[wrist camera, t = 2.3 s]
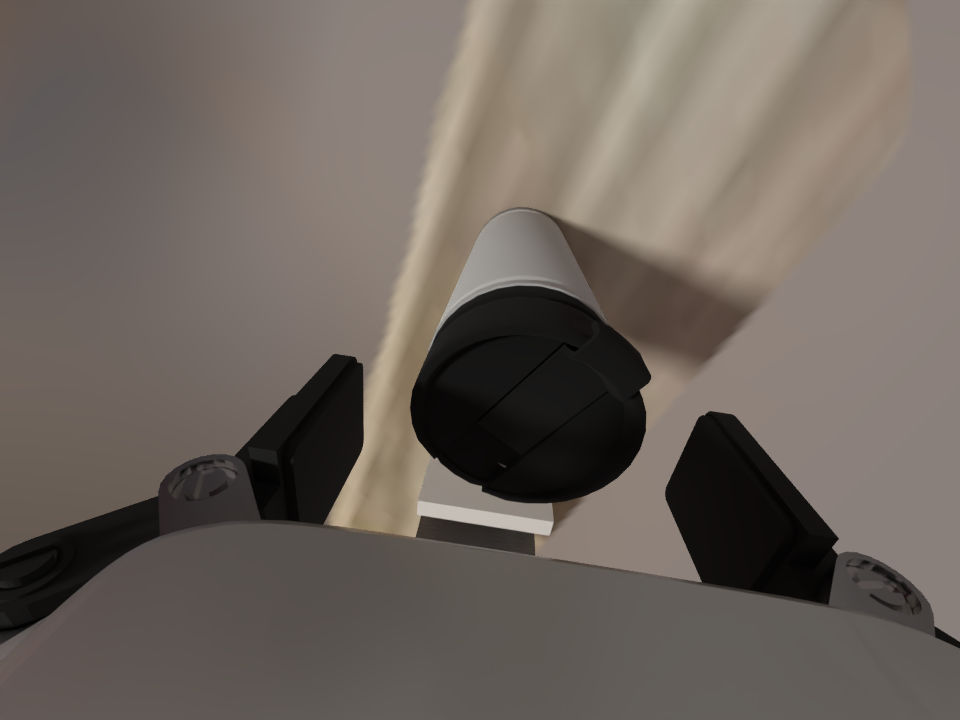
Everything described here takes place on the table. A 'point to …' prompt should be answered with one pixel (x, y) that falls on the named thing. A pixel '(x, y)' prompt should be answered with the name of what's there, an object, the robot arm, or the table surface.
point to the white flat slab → (478, 504)
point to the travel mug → (529, 372)
